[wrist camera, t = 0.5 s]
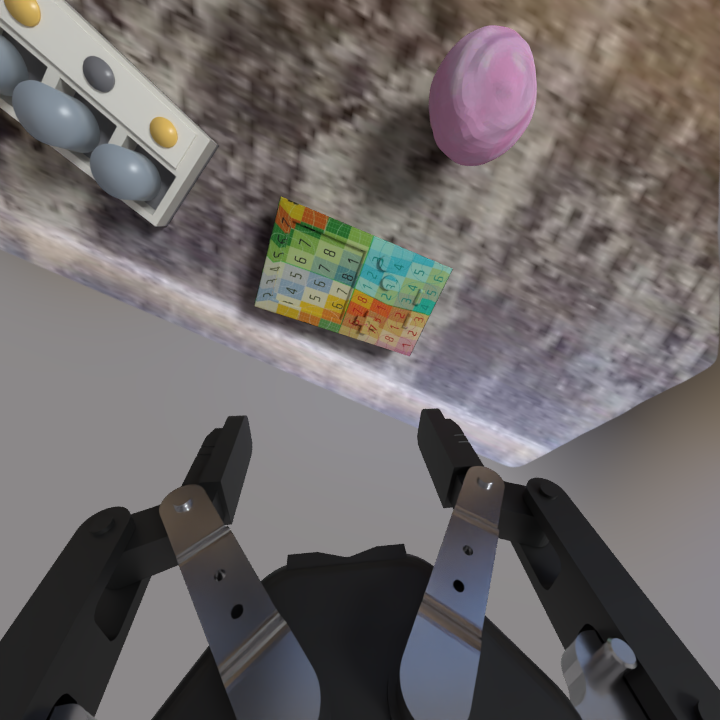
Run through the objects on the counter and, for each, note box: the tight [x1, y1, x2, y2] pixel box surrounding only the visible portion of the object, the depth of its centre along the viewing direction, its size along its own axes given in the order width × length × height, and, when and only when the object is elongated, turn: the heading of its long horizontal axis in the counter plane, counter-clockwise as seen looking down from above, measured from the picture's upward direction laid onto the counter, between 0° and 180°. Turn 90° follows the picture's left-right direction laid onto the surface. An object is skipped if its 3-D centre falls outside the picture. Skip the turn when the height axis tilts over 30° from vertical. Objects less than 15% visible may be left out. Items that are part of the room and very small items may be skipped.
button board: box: [0, 0, 219, 227], centre depth 26 cm, size 17×10×2 cm, turn 47°
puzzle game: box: [254, 196, 453, 356], centre depth 35 cm, size 12×5×20 cm
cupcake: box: [429, 25, 537, 166], centre depth 26 cm, size 9×9×10 cm
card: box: [0, 0, 197, 169], centre depth 24 cm, size 15×4×1 cm, turn 47°
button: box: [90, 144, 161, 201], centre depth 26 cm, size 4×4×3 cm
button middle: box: [12, 80, 100, 153], centre depth 24 cm, size 4×4×3 cm
